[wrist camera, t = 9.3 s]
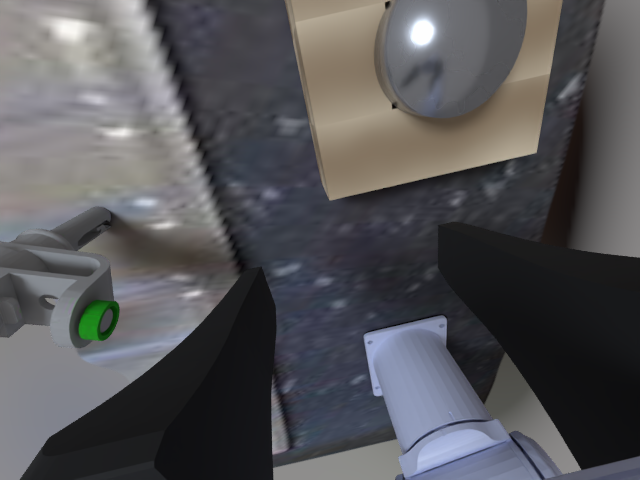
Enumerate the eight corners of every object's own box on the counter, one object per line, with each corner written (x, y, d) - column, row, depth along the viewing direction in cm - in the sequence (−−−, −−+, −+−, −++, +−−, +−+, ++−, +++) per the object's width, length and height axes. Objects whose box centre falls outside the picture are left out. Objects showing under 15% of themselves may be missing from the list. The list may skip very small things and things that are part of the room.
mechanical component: (182, 248, 20) (98, 366, 11) (15, 225, 18) (-255, 347, 9) (182, 210, 19) (88, 309, 10) (3, 181, 17) (-324, 272, 8)
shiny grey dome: (449, 102, 17) (516, 102, 12) (362, 122, 17) (393, 130, 12) (452, -14, 14) (539, -75, 9) (349, 9, 14) (382, -40, 9)
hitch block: (489, 143, 19) (536, 152, 15) (321, 181, 19) (329, 200, 15) (511, -109, 13) (594, -186, 10) (273, -56, 13) (269, -114, 10)
